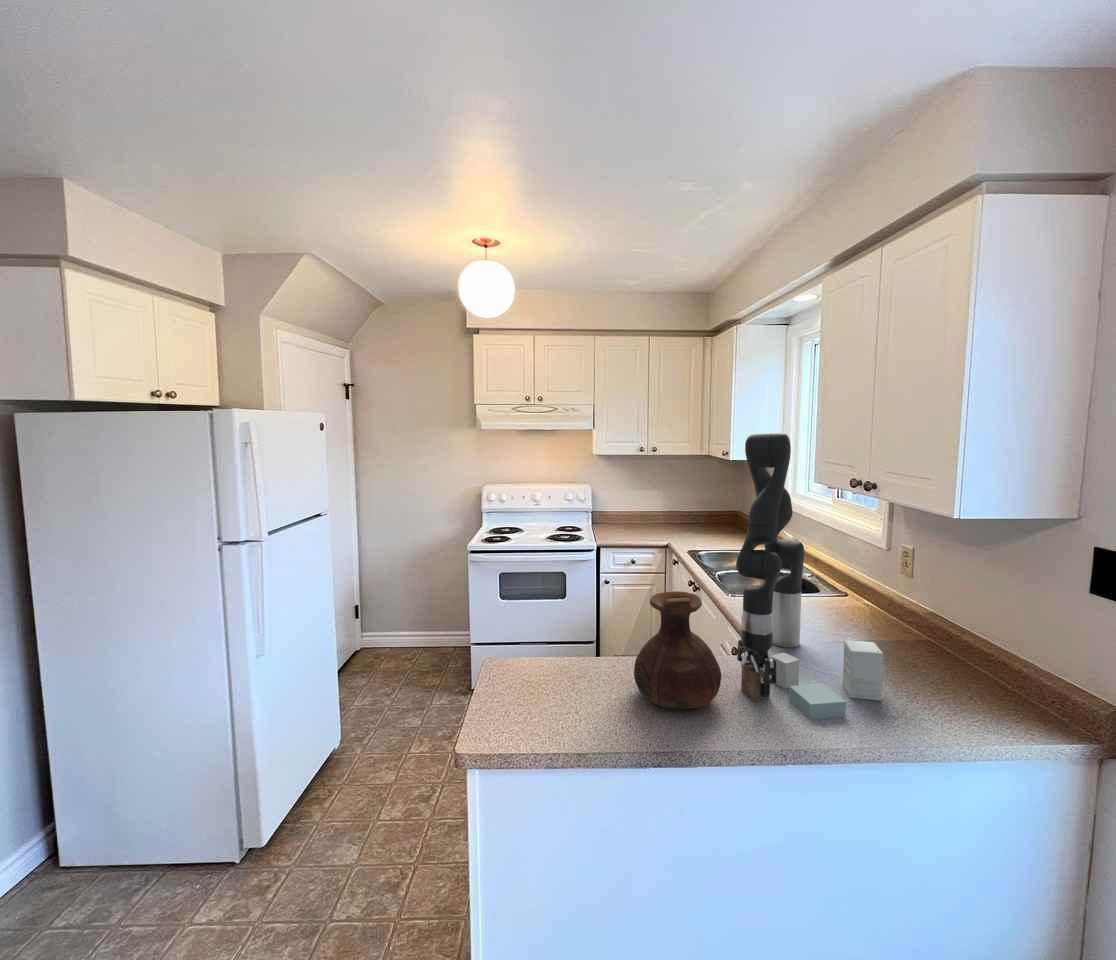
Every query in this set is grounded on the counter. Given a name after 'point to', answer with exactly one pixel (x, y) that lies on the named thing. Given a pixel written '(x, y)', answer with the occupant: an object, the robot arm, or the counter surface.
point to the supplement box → (862, 670)
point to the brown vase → (677, 657)
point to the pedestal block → (817, 701)
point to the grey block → (786, 670)
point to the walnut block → (751, 682)
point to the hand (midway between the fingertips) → (755, 688)
